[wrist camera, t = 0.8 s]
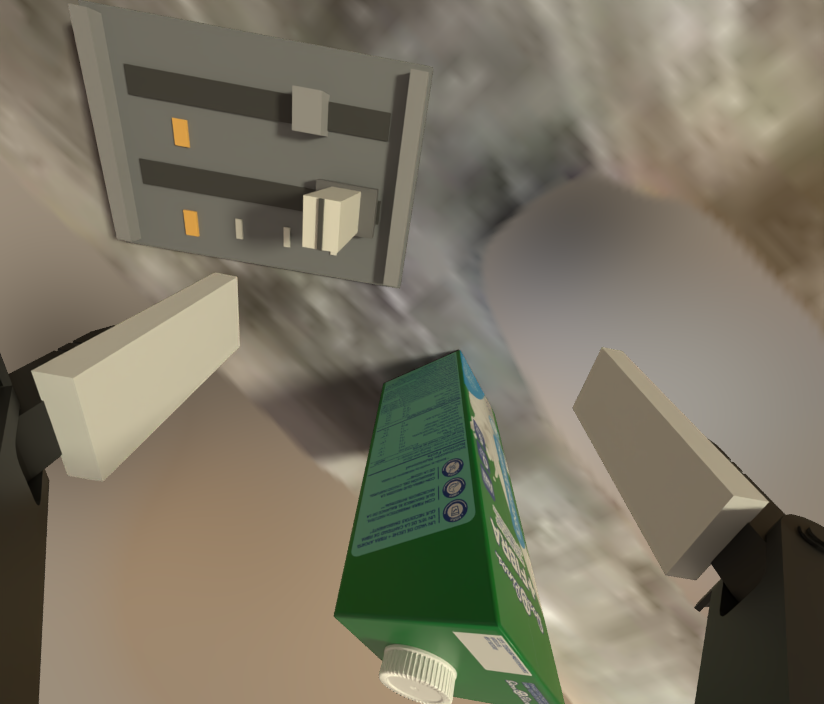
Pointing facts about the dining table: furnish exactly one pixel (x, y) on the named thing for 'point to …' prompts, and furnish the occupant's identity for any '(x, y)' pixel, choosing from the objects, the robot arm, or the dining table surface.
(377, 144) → the console
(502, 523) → the milk carton
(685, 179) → the dining table surface
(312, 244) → the fader
